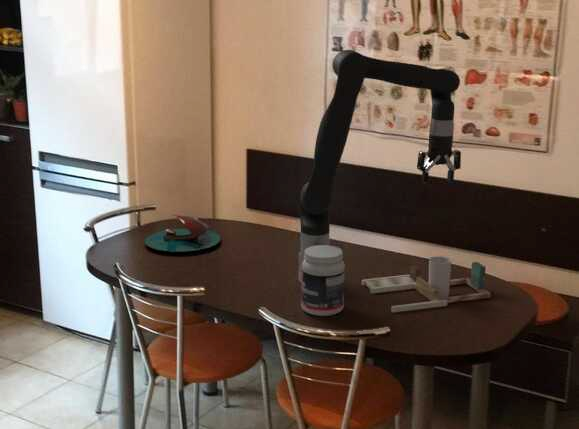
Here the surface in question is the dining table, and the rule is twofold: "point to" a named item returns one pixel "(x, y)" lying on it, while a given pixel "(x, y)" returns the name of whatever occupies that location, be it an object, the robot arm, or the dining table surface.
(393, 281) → the plain strip
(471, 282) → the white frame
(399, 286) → the lane rails
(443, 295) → the mug
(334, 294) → the supplement tub
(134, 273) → the dining table surface
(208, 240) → the boat on round base
